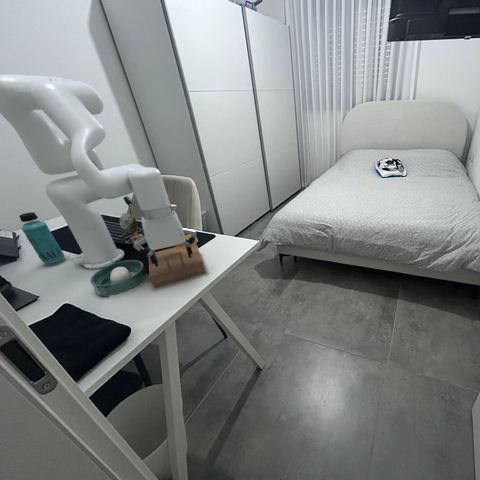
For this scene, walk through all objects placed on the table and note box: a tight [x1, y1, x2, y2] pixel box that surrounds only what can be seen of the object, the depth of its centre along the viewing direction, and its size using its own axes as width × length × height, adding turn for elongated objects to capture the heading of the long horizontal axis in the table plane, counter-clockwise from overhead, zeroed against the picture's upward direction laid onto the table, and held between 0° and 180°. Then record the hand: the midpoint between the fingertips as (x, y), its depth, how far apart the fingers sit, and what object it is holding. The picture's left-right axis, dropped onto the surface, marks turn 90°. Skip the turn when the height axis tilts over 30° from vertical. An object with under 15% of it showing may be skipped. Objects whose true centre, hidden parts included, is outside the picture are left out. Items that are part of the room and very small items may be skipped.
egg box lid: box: [148, 242, 204, 279], centre depth 88 cm, size 15×16×5 cm
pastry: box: [173, 234, 199, 248], centre depth 108 cm, size 9×7×4 cm
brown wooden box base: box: [150, 262, 207, 289], centre depth 91 cm, size 15×16×5 cm
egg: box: [110, 267, 130, 284], centre depth 85 cm, size 7×5×5 cm
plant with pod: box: [119, 195, 145, 244], centre depth 108 cm, size 8×11×20 cm
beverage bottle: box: [18, 211, 65, 264], centre depth 93 cm, size 6×7×20 cm
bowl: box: [89, 259, 148, 297], centre depth 85 cm, size 14×14×4 cm
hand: (173, 260), depth 84 cm, fingers open, 9 cm apart
